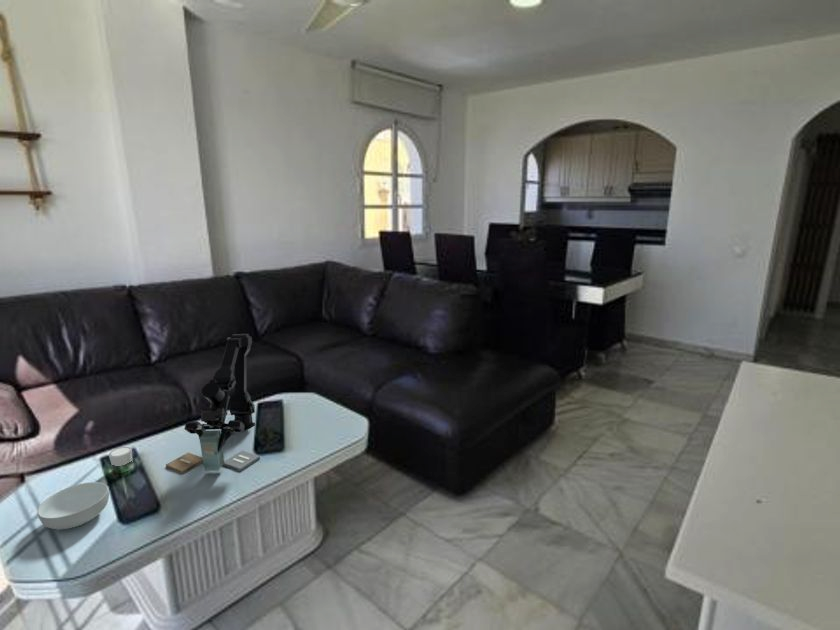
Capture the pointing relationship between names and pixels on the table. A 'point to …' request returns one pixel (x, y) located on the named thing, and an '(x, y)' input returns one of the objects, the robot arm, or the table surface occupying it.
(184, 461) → the walnut tile
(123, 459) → the white cylinder
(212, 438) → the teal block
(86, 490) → the cereal bowl
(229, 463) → the slate tile
